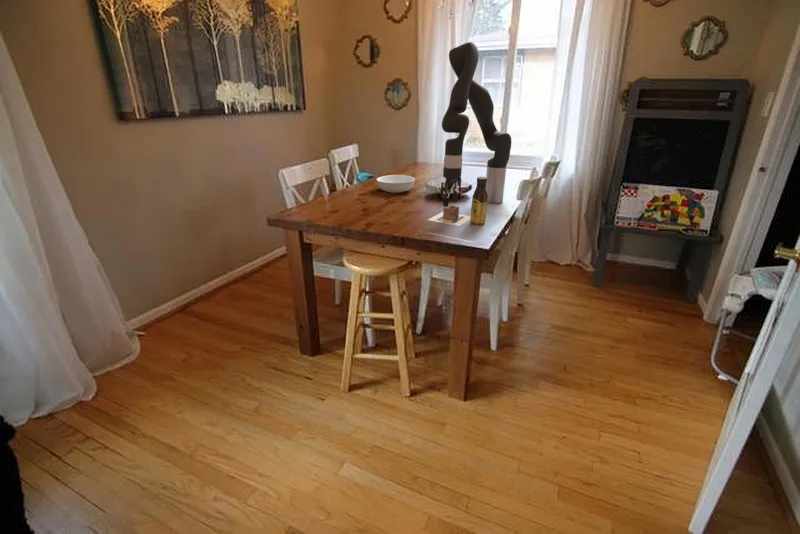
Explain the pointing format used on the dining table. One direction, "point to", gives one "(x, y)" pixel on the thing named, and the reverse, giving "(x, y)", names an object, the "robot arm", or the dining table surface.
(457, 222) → the letter card
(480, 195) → the sauce bottle
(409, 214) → the dining table surface
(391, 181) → the serving bowl
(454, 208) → the walnut block
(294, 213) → the dining table surface
